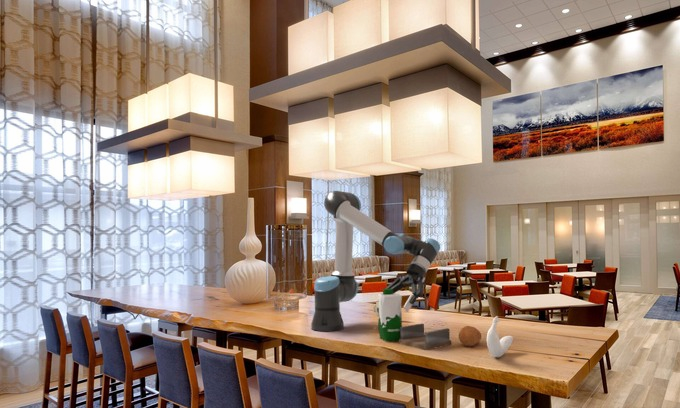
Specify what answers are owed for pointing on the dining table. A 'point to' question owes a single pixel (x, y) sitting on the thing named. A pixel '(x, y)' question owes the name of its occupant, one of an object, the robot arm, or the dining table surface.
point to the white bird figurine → (497, 341)
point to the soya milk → (390, 315)
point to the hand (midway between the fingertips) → (393, 307)
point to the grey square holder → (424, 337)
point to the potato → (469, 336)
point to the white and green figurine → (376, 310)
